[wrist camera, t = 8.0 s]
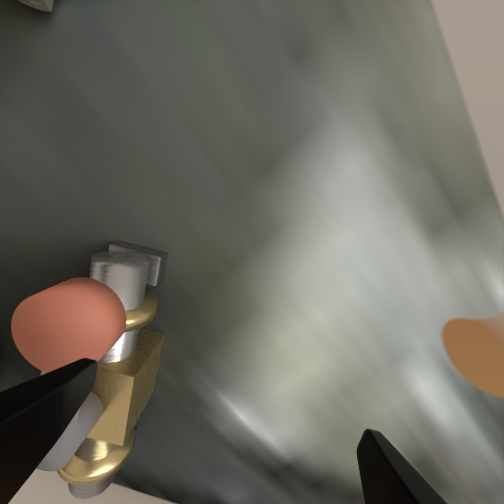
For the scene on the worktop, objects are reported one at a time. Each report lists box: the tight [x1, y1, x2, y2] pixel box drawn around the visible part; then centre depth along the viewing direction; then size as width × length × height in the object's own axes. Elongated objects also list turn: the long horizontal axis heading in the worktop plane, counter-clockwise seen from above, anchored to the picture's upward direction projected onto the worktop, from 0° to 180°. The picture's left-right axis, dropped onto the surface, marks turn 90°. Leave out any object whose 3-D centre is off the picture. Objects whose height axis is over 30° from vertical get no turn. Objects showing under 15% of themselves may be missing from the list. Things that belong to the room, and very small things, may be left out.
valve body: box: [57, 241, 168, 499], centre depth 20 cm, size 20×6×6 cm, turn 166°
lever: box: [11, 277, 127, 471], centre depth 15 cm, size 12×4×4 cm, turn 162°
